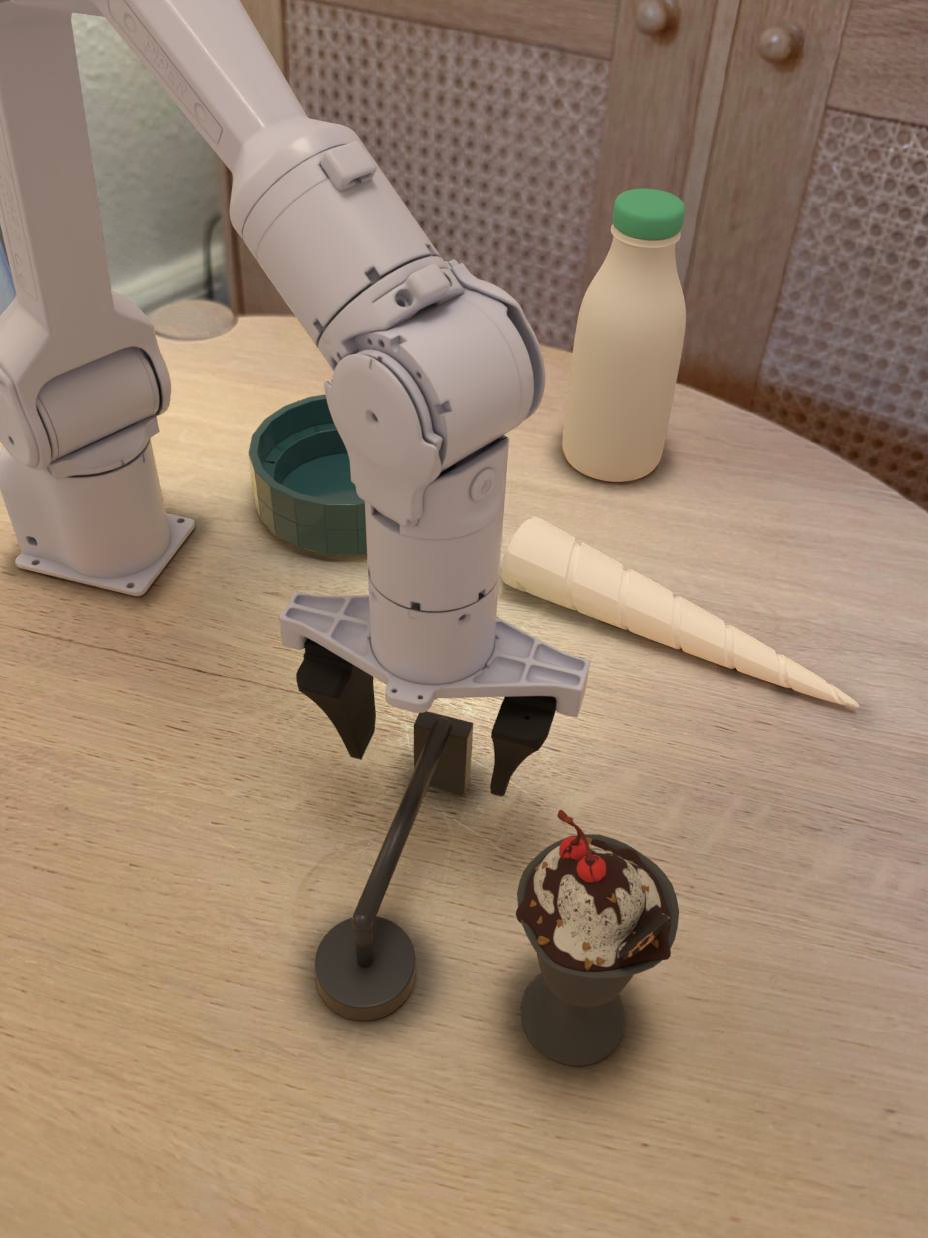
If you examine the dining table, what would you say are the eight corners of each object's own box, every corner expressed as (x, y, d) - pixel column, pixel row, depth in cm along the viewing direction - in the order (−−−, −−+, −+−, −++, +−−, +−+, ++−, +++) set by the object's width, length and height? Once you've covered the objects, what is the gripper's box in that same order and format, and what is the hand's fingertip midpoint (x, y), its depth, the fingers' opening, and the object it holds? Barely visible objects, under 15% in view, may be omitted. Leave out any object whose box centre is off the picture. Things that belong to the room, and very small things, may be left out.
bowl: (225, 538, 75) (216, 480, 72) (300, 434, 84) (295, 378, 81) (405, 579, 73) (404, 522, 69) (462, 467, 82) (464, 411, 78)
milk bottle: (666, 487, 81) (719, 229, 67) (563, 483, 81) (595, 224, 67) (655, 427, 86) (701, 178, 72) (558, 424, 86) (586, 173, 72)
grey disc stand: (396, 1034, 50) (394, 978, 47) (300, 1004, 51) (291, 946, 47) (485, 783, 61) (490, 720, 57) (405, 762, 62) (404, 698, 58)
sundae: (493, 955, 53) (513, 769, 43) (627, 946, 54) (678, 761, 43) (508, 1090, 49) (534, 918, 38) (655, 1079, 49) (720, 907, 39)
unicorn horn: (836, 753, 63) (859, 698, 60) (492, 593, 72) (495, 538, 69) (862, 702, 66) (886, 647, 63) (528, 555, 75) (533, 500, 72)
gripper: (239, 590, 45) (271, 786, 55) (577, 670, 43) (548, 861, 52) (305, 492, 50) (323, 687, 60) (612, 558, 48) (579, 752, 57)
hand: (431, 762), depth 56 cm, fingers open, 7 cm apart
